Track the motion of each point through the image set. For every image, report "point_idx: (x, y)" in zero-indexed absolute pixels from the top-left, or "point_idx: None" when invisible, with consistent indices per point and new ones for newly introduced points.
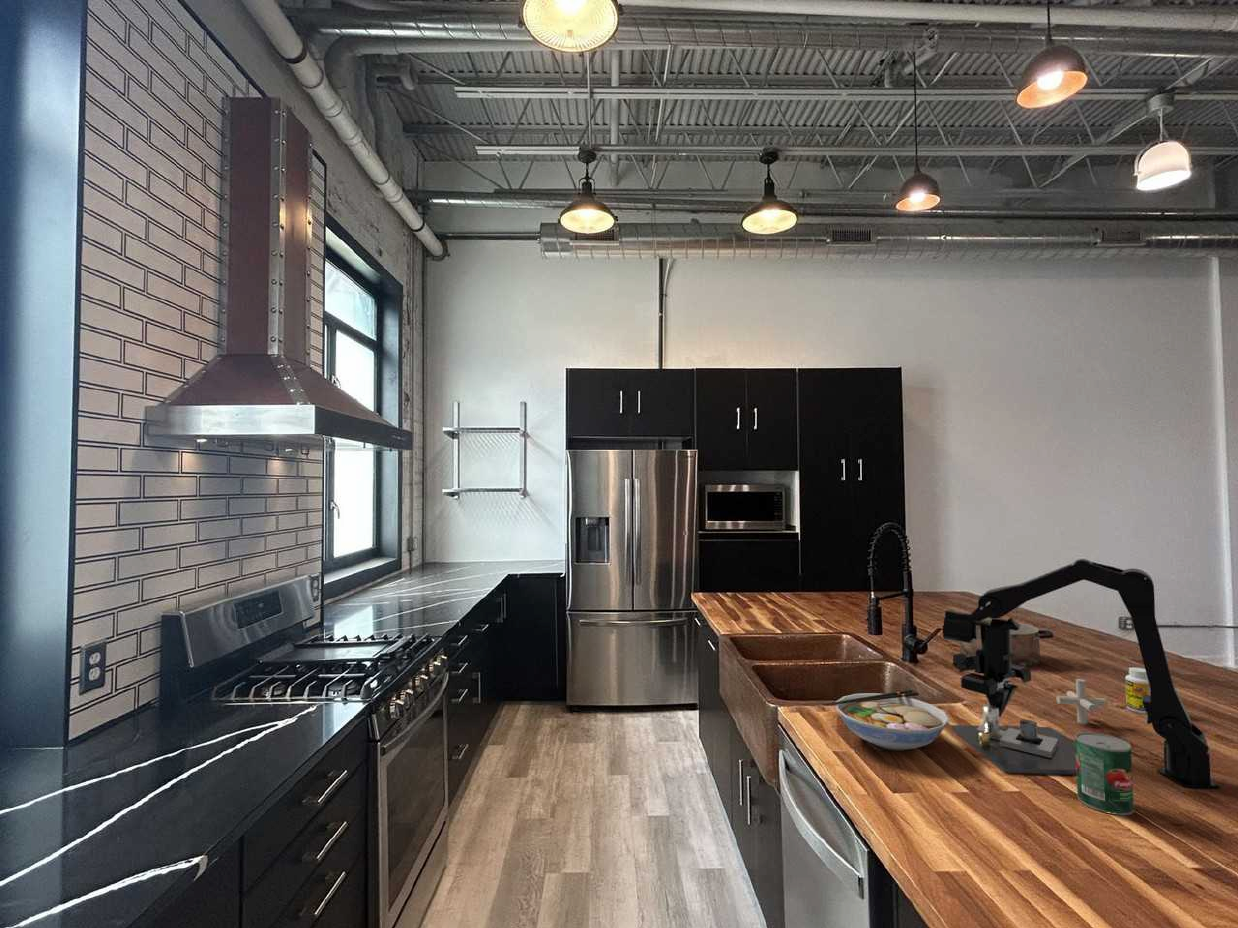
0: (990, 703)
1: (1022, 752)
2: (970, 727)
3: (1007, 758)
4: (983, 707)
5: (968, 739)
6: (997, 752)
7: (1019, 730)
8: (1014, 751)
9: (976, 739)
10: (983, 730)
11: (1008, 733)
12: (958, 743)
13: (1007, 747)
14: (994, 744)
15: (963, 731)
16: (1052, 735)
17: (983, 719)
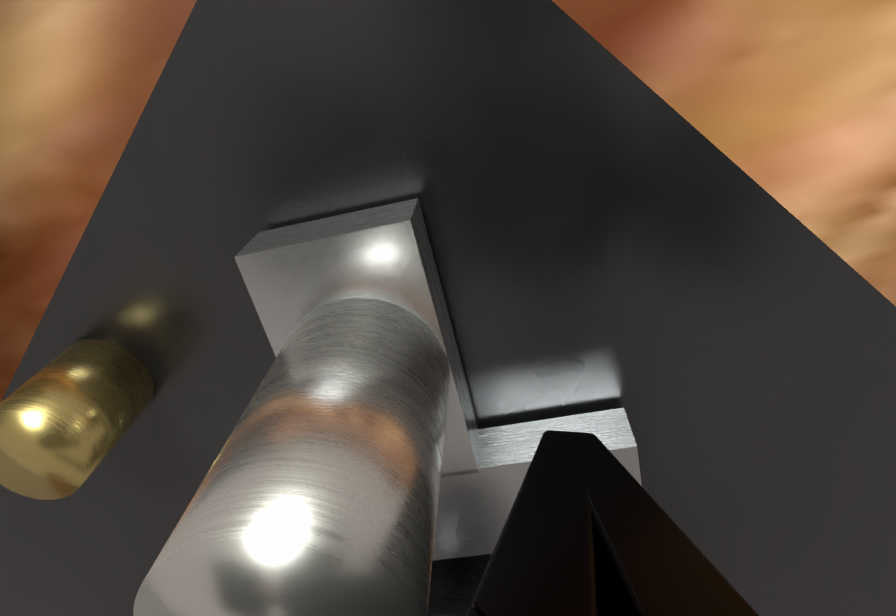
0: (479, 598)
1: None
2: (463, 41)
3: (56, 567)
4: (154, 562)
5: (91, 219)
6: (82, 495)
7: None
8: None
9: (160, 277)
10: (277, 324)
11: (441, 499)
12: (22, 133)
13: None
14: (218, 421)
15: (235, 62)
16: (889, 604)
17: (260, 392)
